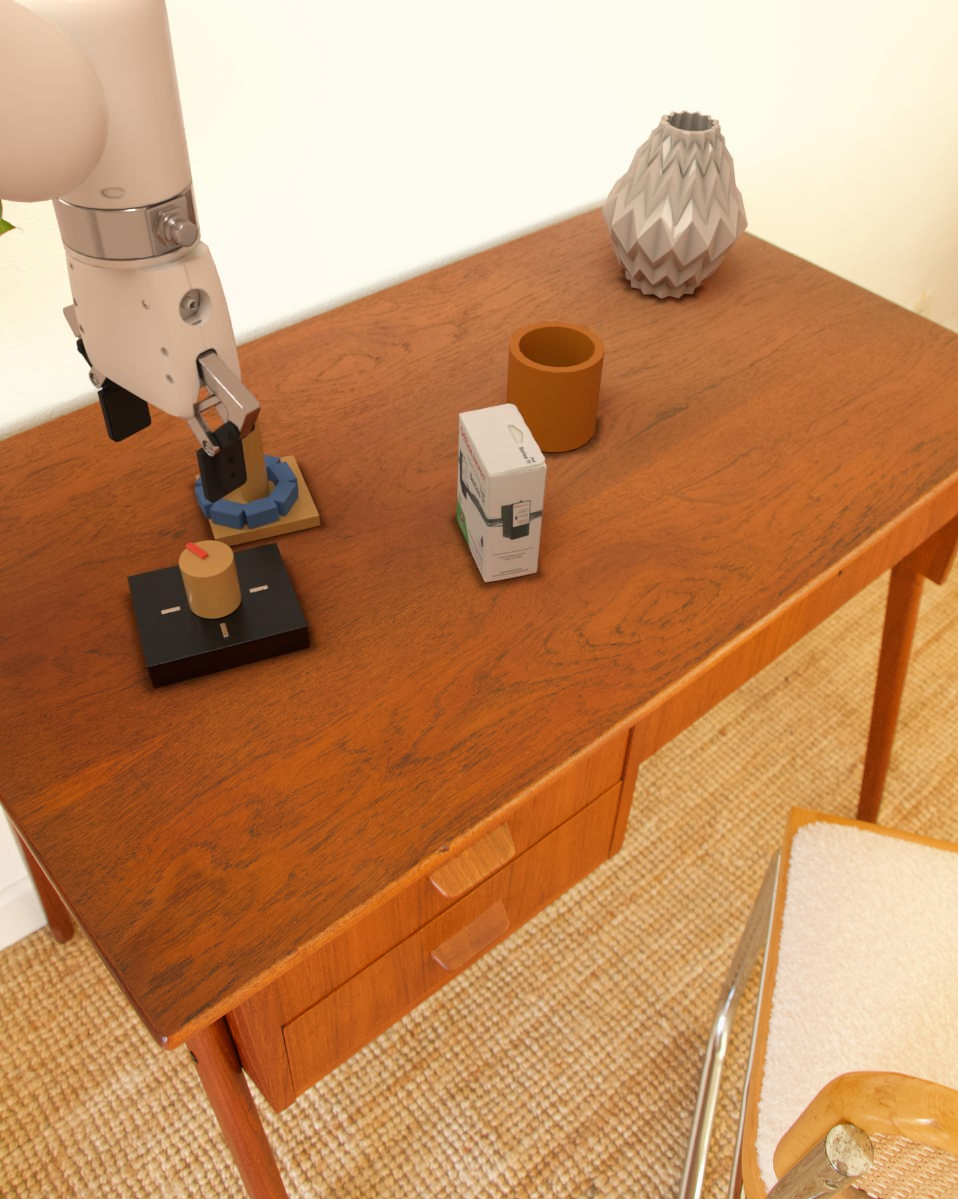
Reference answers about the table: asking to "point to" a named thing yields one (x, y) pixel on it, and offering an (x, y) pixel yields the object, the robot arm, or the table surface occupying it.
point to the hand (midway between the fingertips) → (177, 461)
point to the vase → (676, 207)
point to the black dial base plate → (218, 620)
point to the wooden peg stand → (260, 488)
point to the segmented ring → (259, 509)
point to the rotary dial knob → (210, 579)
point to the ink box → (500, 491)
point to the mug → (556, 382)
